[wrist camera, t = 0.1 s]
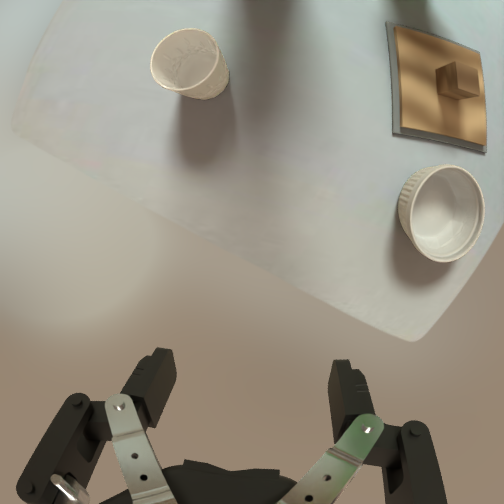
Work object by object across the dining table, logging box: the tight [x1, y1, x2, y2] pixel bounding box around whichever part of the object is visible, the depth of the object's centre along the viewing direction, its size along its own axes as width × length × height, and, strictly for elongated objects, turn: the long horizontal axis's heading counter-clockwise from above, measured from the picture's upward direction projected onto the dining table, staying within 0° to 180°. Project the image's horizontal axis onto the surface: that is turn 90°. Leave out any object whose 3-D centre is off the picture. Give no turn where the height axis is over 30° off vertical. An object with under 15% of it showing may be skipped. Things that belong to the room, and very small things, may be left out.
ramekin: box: [398, 164, 485, 263], centre depth 34 cm, size 13×13×7 cm
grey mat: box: [386, 21, 487, 153], centre depth 31 cm, size 18×18×1 cm
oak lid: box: [393, 26, 486, 146], centre depth 27 cm, size 16×16×7 cm
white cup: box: [150, 28, 229, 100], centre depth 30 cm, size 8×8×10 cm
